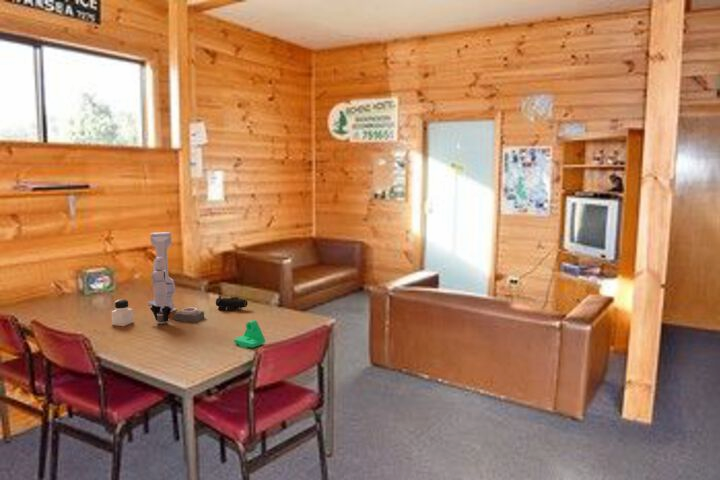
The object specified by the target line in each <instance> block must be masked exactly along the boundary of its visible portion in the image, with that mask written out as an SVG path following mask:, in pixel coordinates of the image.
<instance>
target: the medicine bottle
mask: <svg viewBox="0 0 720 480" xmlns="http://www.w3.org/2000/svg"><path fill="white" fill-rule="evenodd" d="M132 323H134V309H133V308H130V307H129V301H128V300H127V299H117V300H116V301H114V310H111V325H112V326H118V327H126V326H127V325H131V324H132Z"/></svg>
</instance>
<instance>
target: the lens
mask: <svg viewBox="0 0 720 480" xmlns="http://www.w3.org/2000/svg"><path fill="white" fill-rule="evenodd" d="M156 322H157V323H156V324H157V326H165V325H167V324H168V321H166V322H164V316H163V312H162V311H159V312H157V321H156Z"/></svg>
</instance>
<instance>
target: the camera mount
mask: <svg viewBox="0 0 720 480" xmlns="http://www.w3.org/2000/svg"><path fill="white" fill-rule="evenodd" d="M245 328H246V329H245V330H244V333H243V335H241V336H238V337H235V338H233V343H234V344H238V347H241V348H245V349H247V348H248V349H249V348H255V347H257V346H260V345H263V344H265V343H266V339H265V336H264V333H263V332H262V330H261V328H260V325H259V323H258V321H257V320H254V319H253V320H250V321H248V322H246V324H245Z"/></svg>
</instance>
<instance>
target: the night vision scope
mask: <svg viewBox="0 0 720 480" xmlns="http://www.w3.org/2000/svg"><path fill="white" fill-rule="evenodd" d="M215 305H216V307H218V308H217V309H218V311H222V310H223V311H224V312H225V311H227V312H235V311H236V310H237V309H240V308H241V309H242V308H246V307H248V300H246V299H243V298H239V297H237V296H234V297H231V296H230V297H228V298H227V297H222V296H221V295H219V296H218V298H216V299H215Z"/></svg>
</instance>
